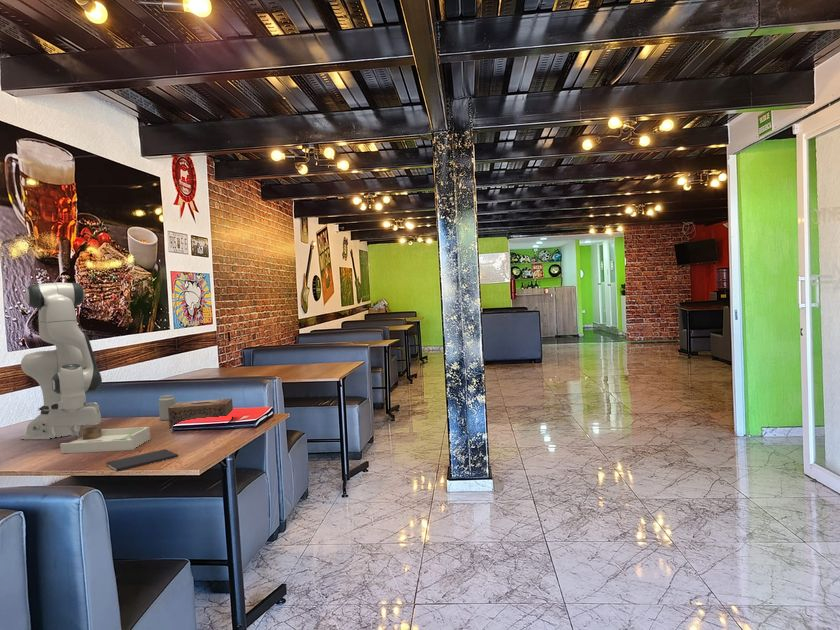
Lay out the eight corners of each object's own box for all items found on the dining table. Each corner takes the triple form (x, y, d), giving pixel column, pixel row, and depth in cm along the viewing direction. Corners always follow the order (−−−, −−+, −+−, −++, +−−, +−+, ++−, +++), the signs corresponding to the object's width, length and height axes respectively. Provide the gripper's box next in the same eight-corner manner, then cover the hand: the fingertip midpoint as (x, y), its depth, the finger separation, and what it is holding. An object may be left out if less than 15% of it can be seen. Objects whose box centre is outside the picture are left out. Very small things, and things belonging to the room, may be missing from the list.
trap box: (61, 453, 225) (60, 440, 225) (83, 443, 241) (82, 430, 241) (132, 449, 226) (131, 436, 226) (150, 439, 242) (149, 426, 242)
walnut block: (82, 439, 235) (82, 430, 235) (89, 436, 240) (89, 427, 240) (95, 439, 235) (94, 429, 235) (101, 436, 240) (101, 426, 240)
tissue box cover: (233, 418, 280) (232, 398, 279) (227, 425, 265) (225, 403, 265) (178, 422, 276) (177, 402, 276) (169, 429, 262) (168, 407, 262)
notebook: (116, 473, 197) (178, 458, 212) (116, 468, 197) (178, 454, 212) (105, 466, 206) (165, 452, 221) (105, 462, 206) (165, 449, 221)
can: (170, 421, 280) (168, 396, 279) (156, 421, 281) (155, 397, 281) (179, 417, 287) (177, 394, 287) (166, 417, 289) (164, 394, 288)
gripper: (103, 400, 240) (105, 432, 240) (54, 403, 240) (56, 435, 240) (94, 403, 234) (97, 436, 234) (44, 406, 233) (47, 439, 234)
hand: (76, 436), depth 237 cm, fingers closed
